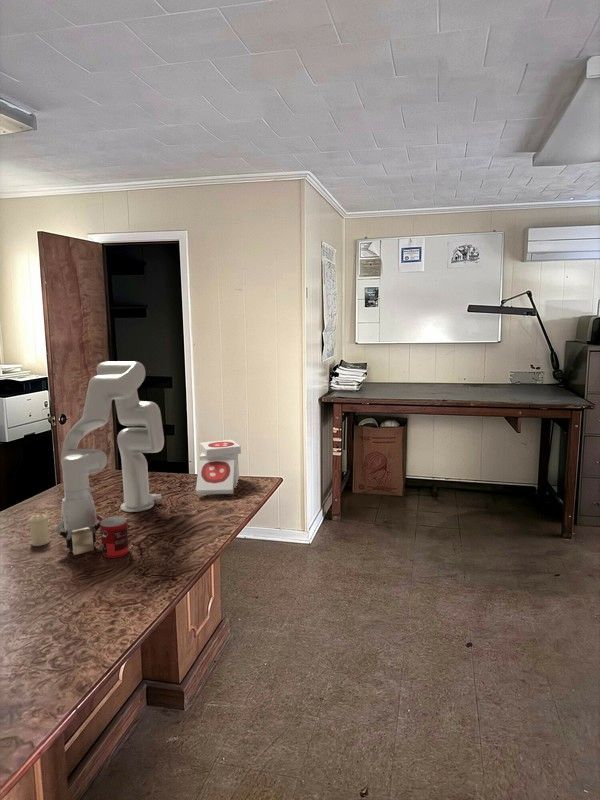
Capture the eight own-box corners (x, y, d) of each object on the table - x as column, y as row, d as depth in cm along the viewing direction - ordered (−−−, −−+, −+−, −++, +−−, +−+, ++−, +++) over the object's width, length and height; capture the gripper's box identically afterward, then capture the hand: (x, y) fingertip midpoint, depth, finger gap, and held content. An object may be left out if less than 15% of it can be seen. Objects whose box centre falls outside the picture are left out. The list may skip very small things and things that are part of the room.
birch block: (89, 544, 190) (87, 526, 189) (93, 550, 185) (92, 532, 184) (70, 548, 187) (68, 530, 186) (74, 554, 182) (72, 536, 181)
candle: (53, 540, 194) (50, 512, 192) (41, 546, 189) (38, 517, 187) (40, 538, 196) (37, 510, 194) (27, 545, 191) (25, 516, 189)
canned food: (105, 549, 186) (103, 516, 184) (131, 548, 186) (128, 515, 185) (99, 559, 178) (97, 525, 177) (126, 557, 179) (123, 524, 177)
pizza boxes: (191, 499, 234) (189, 456, 231) (202, 478, 264) (201, 440, 261) (238, 498, 234) (237, 455, 232) (244, 477, 264) (243, 439, 261)
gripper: (101, 485, 191) (105, 537, 194) (46, 495, 182) (50, 549, 184) (108, 491, 185) (111, 544, 188) (50, 501, 176) (55, 557, 178)
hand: (81, 546), depth 186 cm, fingers closed on birch block, 6 cm apart
